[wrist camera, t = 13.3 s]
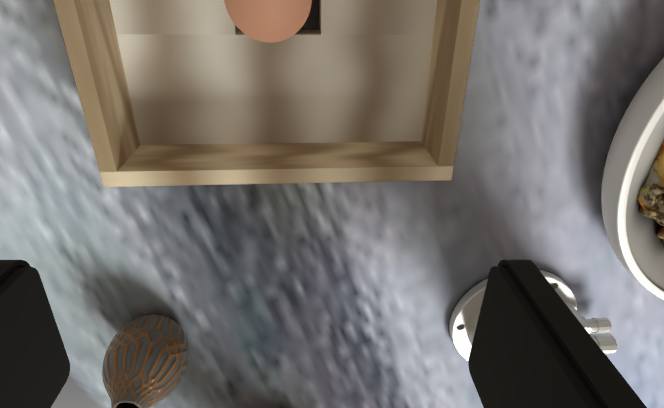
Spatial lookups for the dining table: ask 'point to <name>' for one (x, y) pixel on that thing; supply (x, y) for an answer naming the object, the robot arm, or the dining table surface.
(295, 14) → the peg
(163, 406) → the dining table surface
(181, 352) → the vase
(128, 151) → the insert box
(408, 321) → the dining table surface
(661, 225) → the bowl
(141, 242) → the dining table surface
